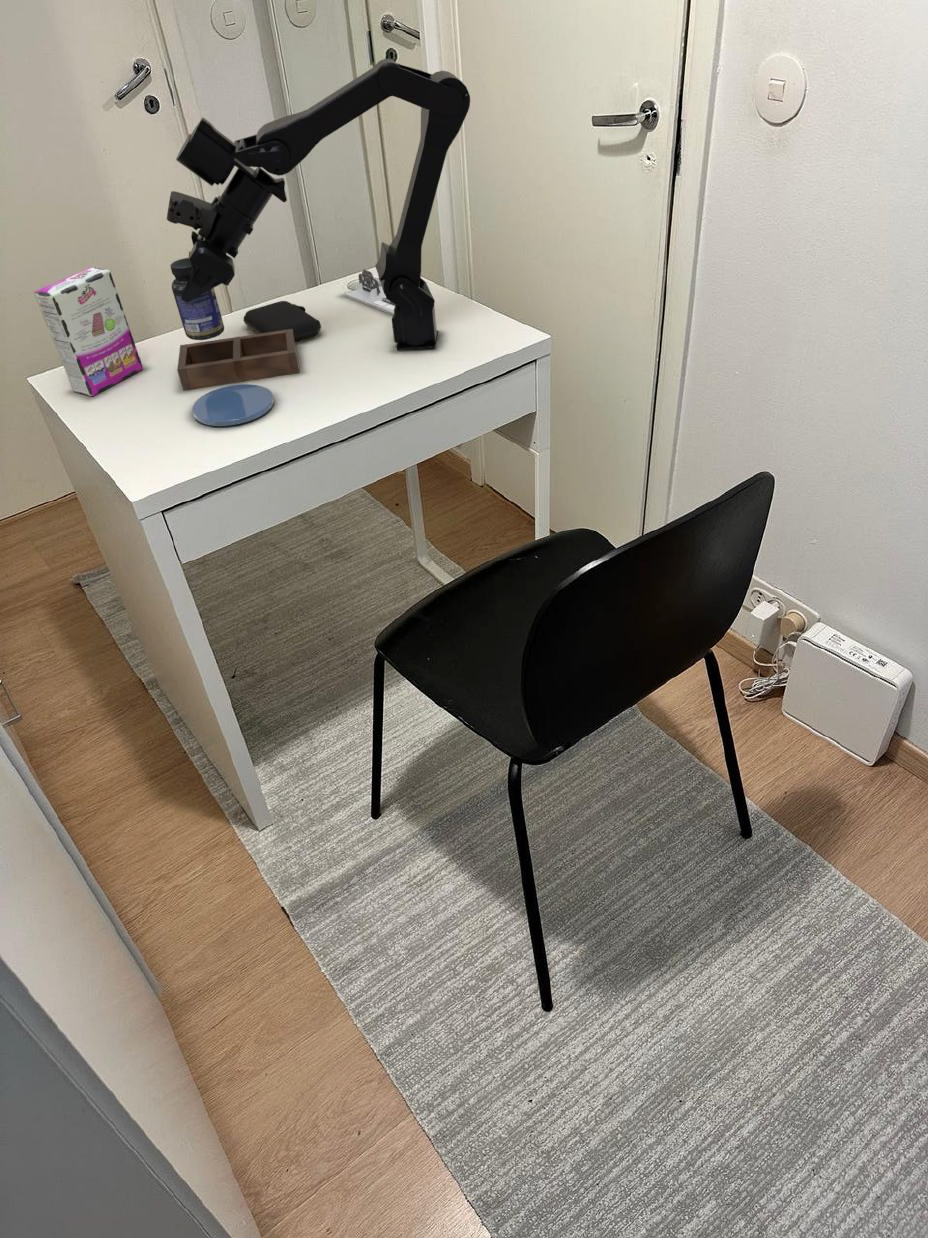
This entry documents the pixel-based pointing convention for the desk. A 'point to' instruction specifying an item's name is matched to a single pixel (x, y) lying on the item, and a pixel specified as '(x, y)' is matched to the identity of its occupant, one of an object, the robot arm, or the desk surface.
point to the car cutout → (371, 293)
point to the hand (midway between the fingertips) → (184, 293)
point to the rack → (237, 359)
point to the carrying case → (283, 320)
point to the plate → (233, 405)
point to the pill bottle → (196, 306)
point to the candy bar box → (89, 330)
